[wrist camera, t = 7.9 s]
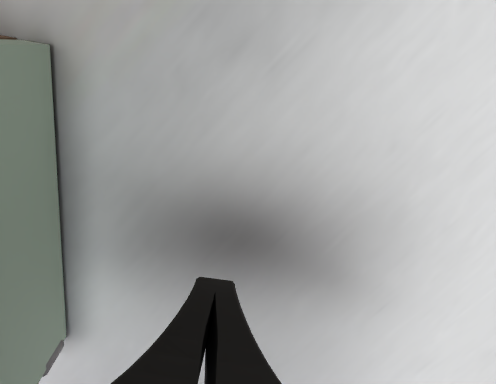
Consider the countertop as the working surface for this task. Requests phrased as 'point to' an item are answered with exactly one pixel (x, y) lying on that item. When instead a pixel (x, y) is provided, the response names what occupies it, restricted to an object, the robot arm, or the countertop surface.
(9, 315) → the door
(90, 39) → the countertop surface
